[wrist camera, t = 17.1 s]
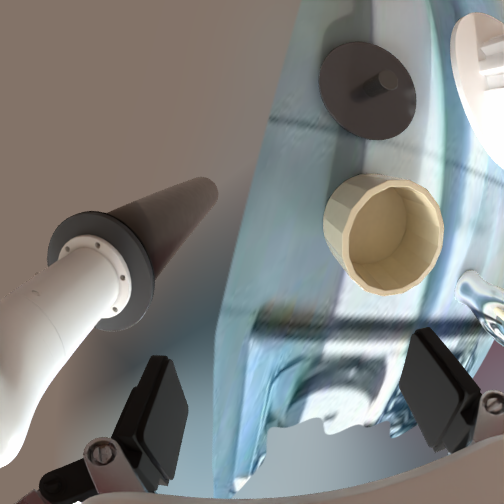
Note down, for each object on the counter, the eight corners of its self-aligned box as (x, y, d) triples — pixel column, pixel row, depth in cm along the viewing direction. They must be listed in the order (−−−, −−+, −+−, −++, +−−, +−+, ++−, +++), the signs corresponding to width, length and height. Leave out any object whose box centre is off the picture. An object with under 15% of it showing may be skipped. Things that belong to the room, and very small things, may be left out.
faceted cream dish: (323, 271, 37) (340, 302, 29) (320, 175, 33) (340, 181, 25) (405, 262, 36) (436, 287, 28) (409, 173, 33) (445, 180, 24)
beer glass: (460, 265, 37) (520, 308, 22) (484, 268, 37) (540, 307, 22) (446, 304, 39) (498, 355, 25) (472, 305, 39) (521, 350, 25)
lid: (323, 140, 32) (337, 136, 26) (310, 41, 27) (321, 21, 22) (416, 142, 31) (442, 142, 25) (403, 51, 27) (426, 38, 21)
